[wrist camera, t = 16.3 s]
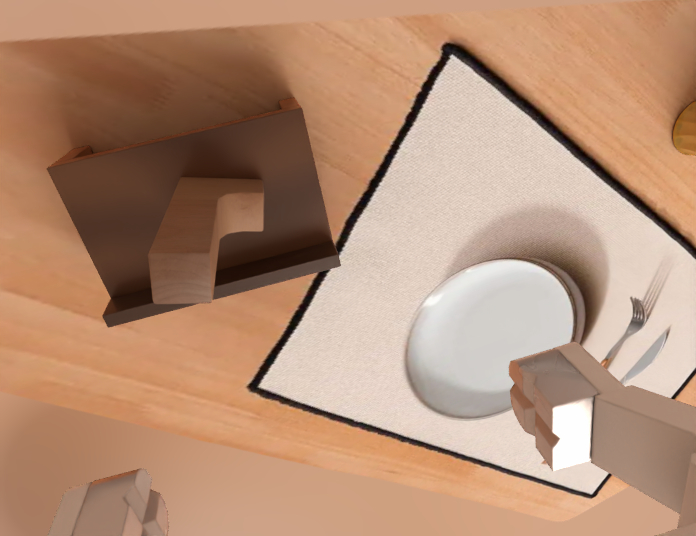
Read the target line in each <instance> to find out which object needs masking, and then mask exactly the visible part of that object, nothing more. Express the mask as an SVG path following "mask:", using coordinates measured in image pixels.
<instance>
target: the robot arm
mask: <svg viewBox="0 0 696 536" xmlns="http://www.w3.org/2000/svg"><path fill="white" fill-rule="evenodd" d="M509 376H510V377H511V378H512V380H513V381H514V382H515V384H514V385H513V387H512V388H511V390H510V395H511V403H512V406H513V410H514V413H515V415H516V417H517V419H518V421H519V423H520V425H521V426H522V428H523V429H524V431H525V432H527V433H529V434H531V435H534V436H535V437H536V448H537V449H538V451H539V452H540V454H541V455H542V456H543V458H544V459H545V461H546V462H547V464H548V465H549V466H550V468H551V469H552V471H555V470H558V469H562V468H566V467H569V466H573V465H576V464H580V463H584V462H587V461H591V463H593V464H595V465H596V466H598V467H600V468H601V469H603V470H605V471H607V472H608V473H610V474H612V475H613V476H615V477H617V478H619V479H620V480H622V481H624V482H625V483H627V484H629V485H631V486H632V487H634V488H636V489H638V490H639V491H641V492H643V493H644V494H646V495H648V496H649V497H651V498H653V499H655V500H656V501H658V502H660V503H662V504H663V505H665V506H667V507H668V508H670V509H672V510H674V511H675V512H677V513H679V514H680V516H679V522H678V527H677V529H675V530H671V531H668V532H666V533H662V534H659V535H656V536H696V407H694V406H691V405H688V404H685V403H682V402H679V401H676V400H674V399H671V398H668V397H665V396H662V395H659V394H656V393H653V392H650V391H647V390H644V389H641V388H638V387H635V386H632V385H631V386H627V387H625V386H624V385H622V384H621V383H620V382H619V381H618V380H617V379H616V378H615V377H614V376H613V375H612V374H611V373H610V372H609V371H607V370H606V369H605V368H604V367H603V366H602V365H601V364H600V363H599V362H598V361H597V360H596V359H595V358H593V357H592V356H591V355H590V354H589V353H588V352H587V351H586V350H585V349H584V348H583V347H582V346H581V345H580V344H578V343H575V342H572V343H568V344H565V345H562V346H559V347H555V348H553V349H549V350H546V351H543V352H539V353H536V354H533V355H529V356H526V357H523V358H519V359H516V360H513V361H510V364H509ZM151 483H152V478H151V477H150V475H149V474H148V472H147V471H146V469H137V470H133V471H130V472H126V473H122V474H118V475H114V476H111V477H107V478H103V479H99V480H95V481H93V482H90V483H86V484H82V485H78V486H75V487H71V488H69V489H68V490H67V491H66V492H65V493H64V494H63V497H62V499H61V502H60V505H59V507H58V509H57V512H56V515H55V517H54V520H53V522H52V525H51V527H50V530H49V533H48V535H47V536H168V529H169V522H168V511H167V508H166V505H165V502H164V500H163V498H162V496H161V494H160V493H158V492H156V491H153V490H151Z"/></svg>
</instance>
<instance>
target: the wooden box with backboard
mask: <svg viewBox="0 0 696 536" xmlns="http://www.w3.org/2000/svg"><path fill="white" fill-rule="evenodd" d="M279 105H280V109H281V110H277V111H273V112H269V113H264V114H260V115H256V116H252V117H248V118H243V119H239V120H235V121H231V122H226V123H222V124H218V125H214V126H210V127H205V128H201V129H197V130H193V131H188V132H184V133H180V134H176V135H172V136H167V137H163V138H159V139H155V140H150V141H146V142H142V143H138V144H133V145H129V146H125V147H121V148H117V149H112V150H108V151H104V152H100V153H95V154H93V153H92V151H91V148H90V146H85V147H80V148H76V149H73V150H71V151H70V152H69V153H67V154H66V155H64V156H63V157H62V158H60V159H59V160H58V161H56V162H55V163H53V164H52V165H51V166H49V167H48V168H47V170H48V172H49V174H50V176H51V178H52V180H53V182H54V184H55V186H56V188H57V190H58V192H59V194H60V196H61V198H62V200H63V202H64V204H65V206H66V208H67V210H68V212H69V214H70V216H71V219H72V221H73V223H74V225H75V227H76V229H77V231H78V233H79V235H80V237H81V239H82V241H83V243H84V245H85V247H86V249H87V251H88V253H89V255H90V257H91V259H92V261H93V263H94V265H95V267H96V269H97V271H98V273H99V275H100V277H101V279H102V281H103V283H104V285H105V287H106V289H107V291H108V293H109V295H110V297H111V299H110V301H109V303H108V305H107V308H106V310H105V312H104V314H103V318H104V320H105V322H106V324H107V326H108V327H112V326H116V325H120V324H124V323H127V322H131V321H135V320H139V319H143V318H146V317H150V316H154V315H158V314H162V313H165V312H169V311H173V310H177V309H180V308H184V307H188V306H192V305H196V304H199V303H190V304H154V302H153V299H152V288H151V278H150V268H149V258H148V254H149V251H150V249H151V247H152V244H153V242H154V240H155V237H156V235H157V233H158V230H159V228H160V225H161V223H162V221H163V218H164V216H165V213H166V211H167V209H168V206H169V204H170V201H171V199H172V197H173V194H174V192H175V189H176V187H177V185H178V182H179V180H180V178H181V177H196V178H230V179H260V180H262V181H263V188H264V229H263V231H241V232H235V233H229V234H226V235H225V236H224V237H222V238H221V239H220V242H219V250H218V259H217V268H216V276H215V285H214V293H213V300H214V299H218V298H222V297H226V296H230V295H233V294H237V293H241V292H245V291H249V290H252V289H256V288H260V287H264V286H267V285H271V284H275V283H279V282H283V281H286V280H290V279H294V278H298V277H302V276H305V275H309V274H313V273H317V272H320V271H324V270H328V269H332V268H336V267H339V266H341V264H340V260H339V255H338V253H337V250H336V248H335V245H334V243H333V240H332V236H331V231H330V227H329V223H328V218H327V214H326V210H325V206H324V201H323V197H322V193H321V188H320V184H319V180H318V175H317V171H316V167H315V162H314V158H313V154H312V149H311V145H310V141H309V136H308V132H307V128H306V123H305V119H304V115H303V110H302V108H301V106H300V105H299V103H298V102H297V100H296V99H295V98H294V97H293V98H289V99H284V100H280V101H279Z"/></svg>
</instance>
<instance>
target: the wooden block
mask: <svg viewBox="0 0 696 536" xmlns="http://www.w3.org/2000/svg"><path fill="white" fill-rule="evenodd" d="M263 229H264V188H263V181H262V180H260V179H230V178H196V177H181V178H180V180H179V182H178V185H177V187H176V189H175V192H174V194H173V197H172V199H171V201H170V204H169V206H168V209H167V211H166V213H165V216H164V218H163V221H162V223H161V225H160V228H159V230H158V233H157V235H156V237H155V240H154V242H153V244H152V247H151V249H150V251H149V254H148V258H149V268H150V278H151V288H152V299H153V302H154V304H190V303H211V302H212V300H213V293H214V285H215V276H216V268H217V259H218V250H219V242H220V239H221V238H222V237H224V236H225V235H226V234H229V233H235V232H241V231H263Z"/></svg>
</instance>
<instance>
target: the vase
mask: <svg viewBox="0 0 696 536" xmlns="http://www.w3.org/2000/svg"><path fill="white" fill-rule="evenodd" d="M673 142H674V145H675V147H676V149H677V150H678V151H680V152H681V153H682V154H685V155H695V156H696V101H695V102H693V103H691V104H690V105H689V106H688V107H687V108H686V109H685V110H684V111H683V112H682V113H681V115H680V116H679V118H678V119H677V121H676V124H675V127H674V130H673Z"/></svg>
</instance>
